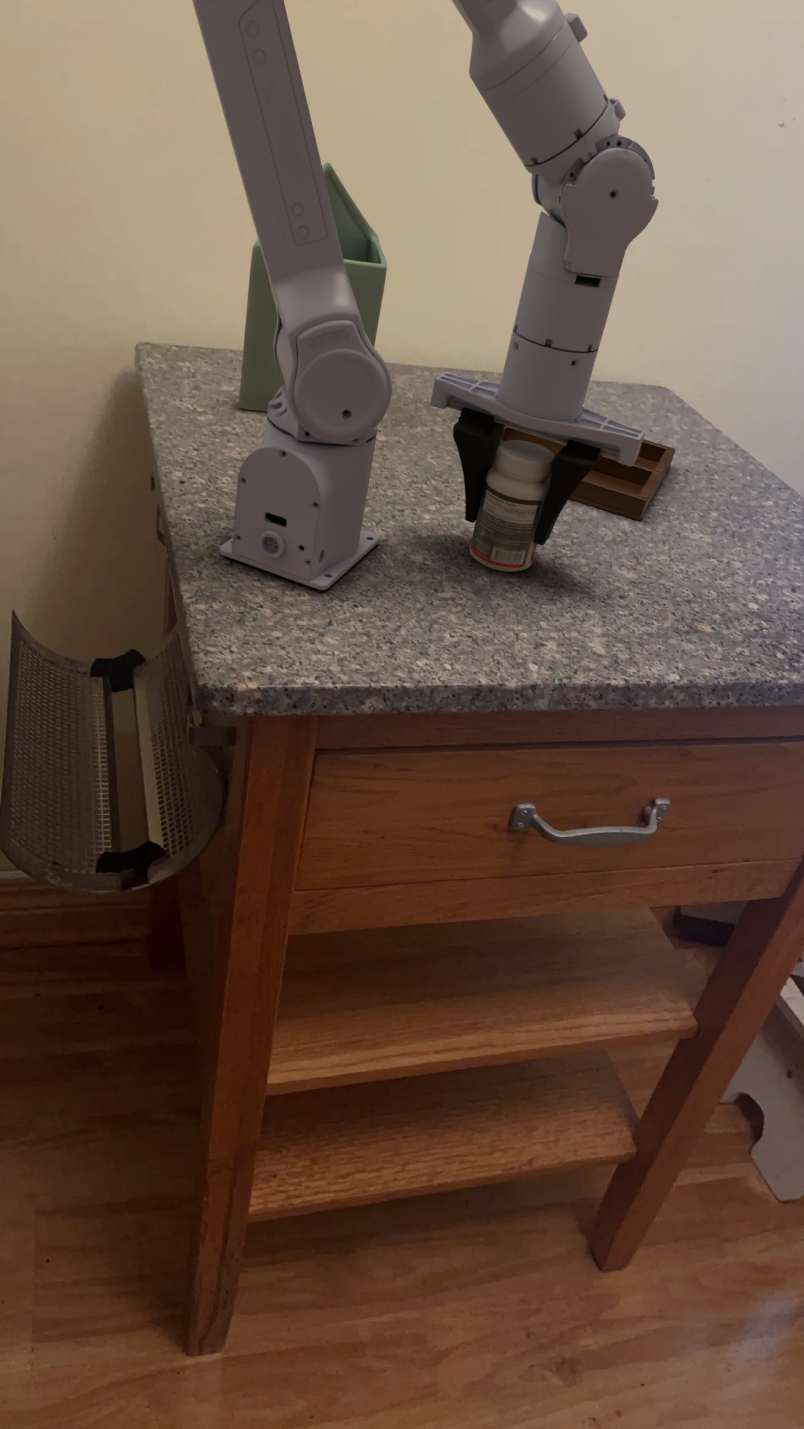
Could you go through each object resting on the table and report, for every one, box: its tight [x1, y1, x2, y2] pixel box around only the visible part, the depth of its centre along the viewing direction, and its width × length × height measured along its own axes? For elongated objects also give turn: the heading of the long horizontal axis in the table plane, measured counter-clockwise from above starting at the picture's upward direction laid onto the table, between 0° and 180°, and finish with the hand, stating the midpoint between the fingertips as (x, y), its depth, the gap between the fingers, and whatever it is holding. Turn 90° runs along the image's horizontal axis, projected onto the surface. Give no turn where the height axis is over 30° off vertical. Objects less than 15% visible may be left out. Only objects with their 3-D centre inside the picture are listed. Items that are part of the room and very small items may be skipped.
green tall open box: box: [238, 161, 388, 413], centre depth 91 cm, size 16×8×20 cm, turn 143°
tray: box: [492, 425, 677, 522], centre depth 94 cm, size 15×15×2 cm
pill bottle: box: [469, 440, 555, 573], centre depth 74 cm, size 5×5×8 cm
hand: (507, 528), depth 75 cm, fingers closed on pill bottle, 5 cm apart
